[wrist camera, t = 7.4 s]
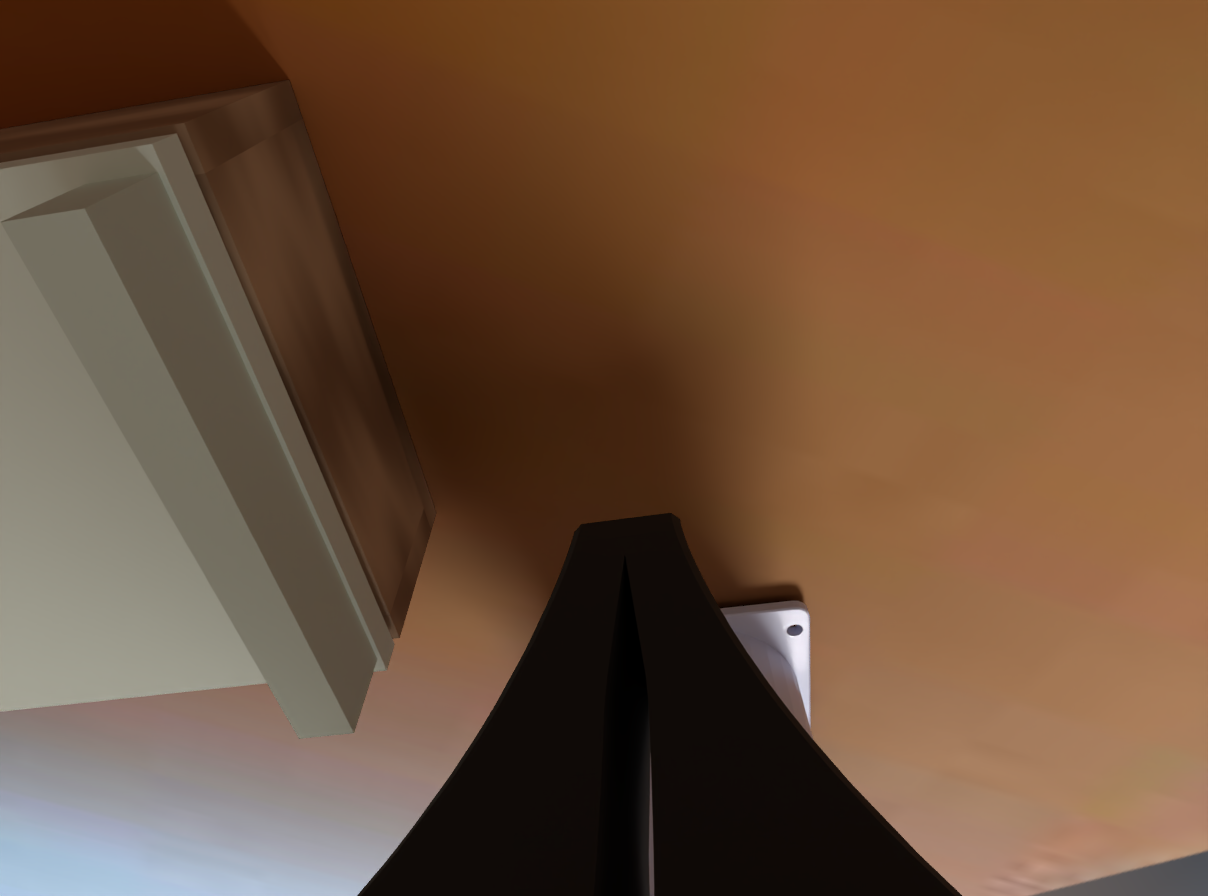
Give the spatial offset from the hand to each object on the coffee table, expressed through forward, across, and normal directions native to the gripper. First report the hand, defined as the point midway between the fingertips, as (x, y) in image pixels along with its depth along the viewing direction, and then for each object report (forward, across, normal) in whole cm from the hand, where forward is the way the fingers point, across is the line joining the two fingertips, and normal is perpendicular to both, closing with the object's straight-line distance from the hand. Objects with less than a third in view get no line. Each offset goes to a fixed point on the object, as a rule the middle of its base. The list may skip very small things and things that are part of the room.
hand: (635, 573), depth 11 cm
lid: (+5, +13, 0) cm, 14 cm away
